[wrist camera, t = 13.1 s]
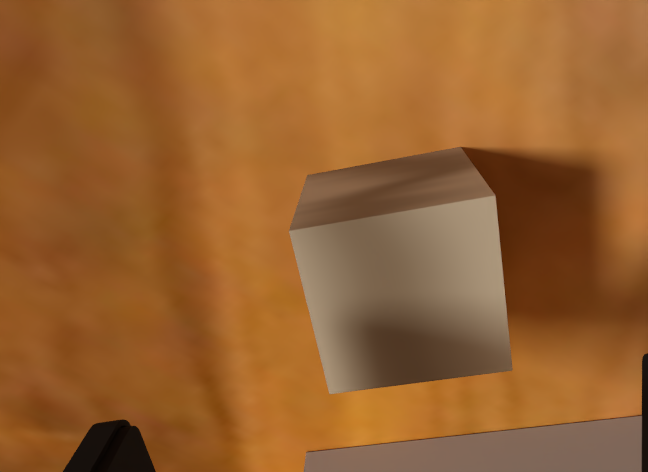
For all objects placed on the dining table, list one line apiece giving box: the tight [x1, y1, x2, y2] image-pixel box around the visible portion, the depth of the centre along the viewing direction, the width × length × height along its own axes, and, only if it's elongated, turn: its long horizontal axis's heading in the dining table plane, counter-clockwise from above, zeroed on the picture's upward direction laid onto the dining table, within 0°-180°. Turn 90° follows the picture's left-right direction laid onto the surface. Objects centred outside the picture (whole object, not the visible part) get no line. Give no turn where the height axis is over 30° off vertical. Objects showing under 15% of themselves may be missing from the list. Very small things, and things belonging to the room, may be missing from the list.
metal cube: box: [289, 147, 512, 394], centre depth 16 cm, size 5×5×5 cm
